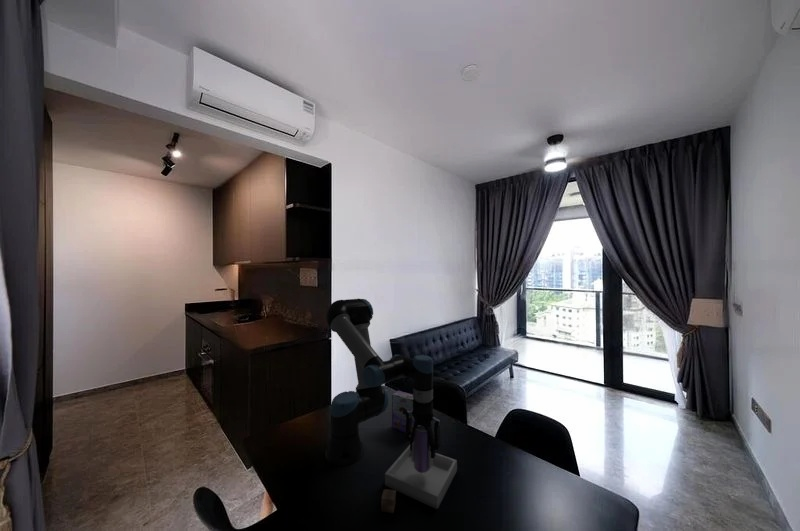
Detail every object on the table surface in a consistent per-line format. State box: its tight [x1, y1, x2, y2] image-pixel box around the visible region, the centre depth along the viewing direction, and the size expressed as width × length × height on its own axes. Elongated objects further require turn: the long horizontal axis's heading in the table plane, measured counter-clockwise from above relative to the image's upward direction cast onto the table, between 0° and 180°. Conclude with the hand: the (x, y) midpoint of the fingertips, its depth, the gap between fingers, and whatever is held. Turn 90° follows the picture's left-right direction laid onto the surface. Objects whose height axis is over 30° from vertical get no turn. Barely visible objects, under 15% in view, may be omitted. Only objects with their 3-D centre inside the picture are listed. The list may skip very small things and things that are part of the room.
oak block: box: [380, 488, 397, 514], centre depth 88 cm, size 4×4×4 cm
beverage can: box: [414, 425, 430, 473], centre depth 101 cm, size 6×6×15 cm
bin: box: [384, 444, 458, 511], centre depth 100 cm, size 20×20×4 cm
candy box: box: [391, 390, 415, 434], centre depth 132 cm, size 14×6×16 cm, turn 58°
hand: (422, 462), depth 100 cm, fingers closed on beverage can, 6 cm apart
